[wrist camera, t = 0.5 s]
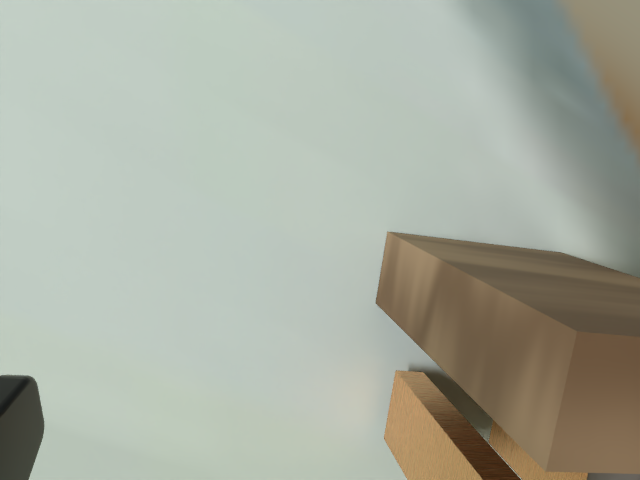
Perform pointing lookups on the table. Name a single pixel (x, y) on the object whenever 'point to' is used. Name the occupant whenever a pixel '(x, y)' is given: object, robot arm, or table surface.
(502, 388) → the walnut stand
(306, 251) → the table surface
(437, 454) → the C-link
